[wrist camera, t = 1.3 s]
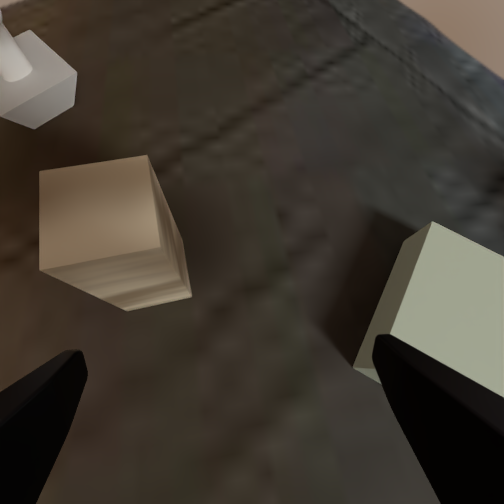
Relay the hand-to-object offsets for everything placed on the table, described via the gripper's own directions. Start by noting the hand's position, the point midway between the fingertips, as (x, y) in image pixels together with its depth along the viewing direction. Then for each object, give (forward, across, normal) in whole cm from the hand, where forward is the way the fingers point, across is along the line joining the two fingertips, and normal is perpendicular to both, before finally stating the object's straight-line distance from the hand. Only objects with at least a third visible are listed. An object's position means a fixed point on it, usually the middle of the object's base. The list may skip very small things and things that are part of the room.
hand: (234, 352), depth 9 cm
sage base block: (+11, -17, +9) cm, 22 cm away
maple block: (+15, +6, +4) cm, 16 cm away
